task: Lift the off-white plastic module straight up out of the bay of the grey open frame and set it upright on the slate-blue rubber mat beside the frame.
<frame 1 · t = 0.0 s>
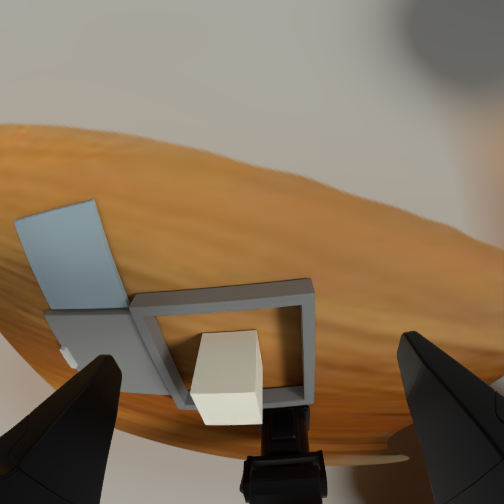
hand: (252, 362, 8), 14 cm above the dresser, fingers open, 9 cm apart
mat: (68, 260, 24), on the dresser
module: (233, 350, 28), resting in grey open frame
grey open frame: (233, 351, 28), on the dresser
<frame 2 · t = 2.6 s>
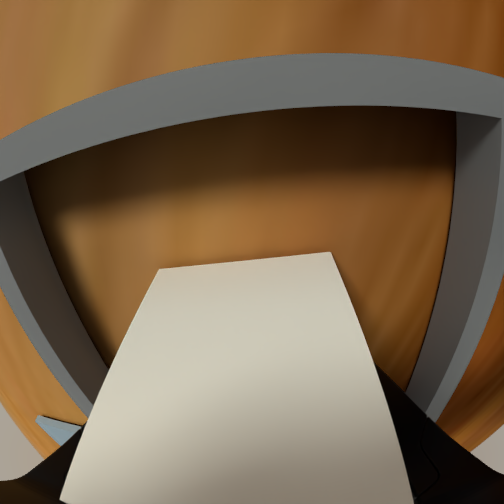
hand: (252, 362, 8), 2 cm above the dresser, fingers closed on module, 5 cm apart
mat: (122, 460, 17), on the dresser
module: (253, 327, 10), resting in grey open frame, touching gripper
grey open frame: (252, 327, 10), on the dresser
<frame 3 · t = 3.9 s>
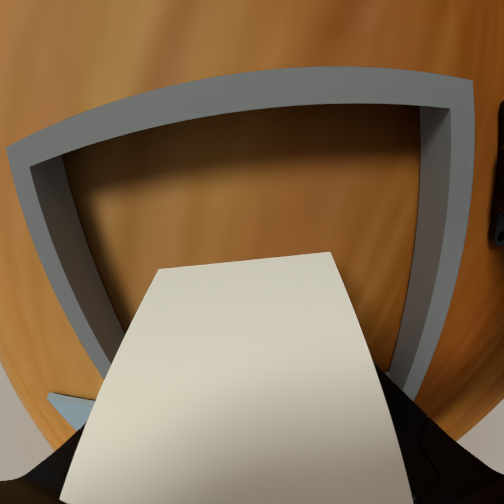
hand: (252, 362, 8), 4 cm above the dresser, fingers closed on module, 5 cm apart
mat: (128, 437, 19), on the dresser
module: (252, 327, 10), point 2 cm above the dresser, touching gripper
grey open frame: (254, 287, 12), on the dresser
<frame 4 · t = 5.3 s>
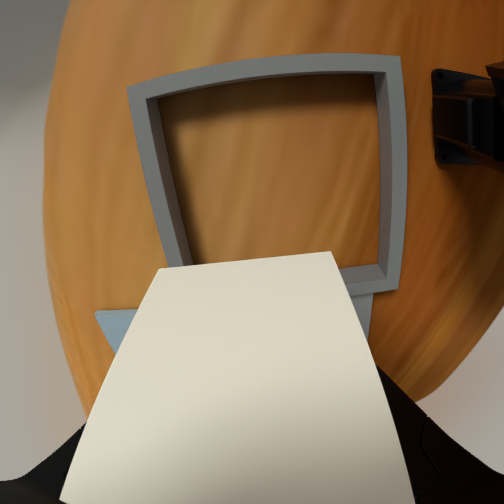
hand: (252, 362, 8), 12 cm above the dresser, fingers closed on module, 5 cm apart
mat: (164, 351, 25), on the dresser
module: (253, 327, 10), point 11 cm above the dresser, touching gripper
grey open frame: (279, 183, 18), on the dresser
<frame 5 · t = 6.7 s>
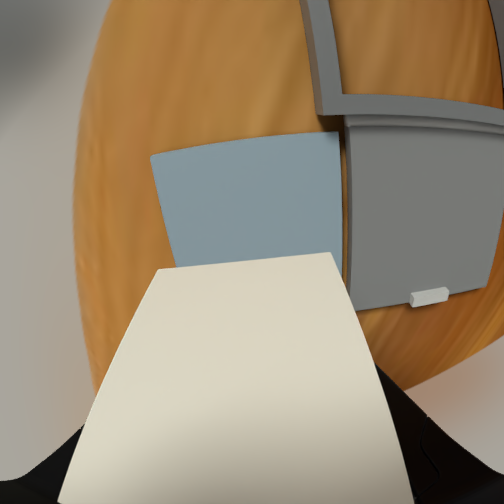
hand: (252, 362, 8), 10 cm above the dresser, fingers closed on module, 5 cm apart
mat: (254, 225, 17), on the dresser
module: (252, 328, 10), point 9 cm above the dresser, touching gripper
grey open frame: (420, 1, 10), on the dresser
when the fingers open (4 cm above the dresser, at t = 8.1 s): module drops 1 cm, resting on mat.
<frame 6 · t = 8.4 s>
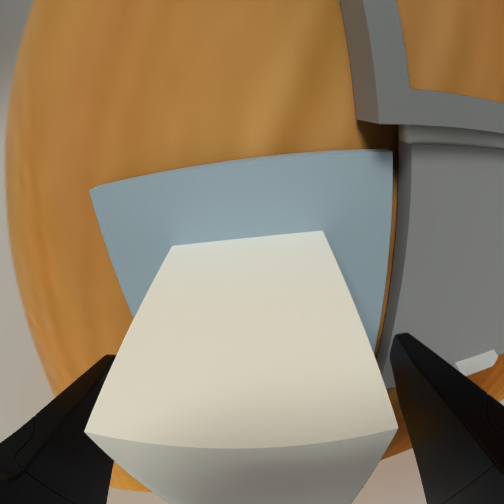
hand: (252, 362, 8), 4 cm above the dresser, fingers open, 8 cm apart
mat: (253, 292, 12), on the dresser
module: (254, 300, 11), point 1 cm above the dresser, touching mat
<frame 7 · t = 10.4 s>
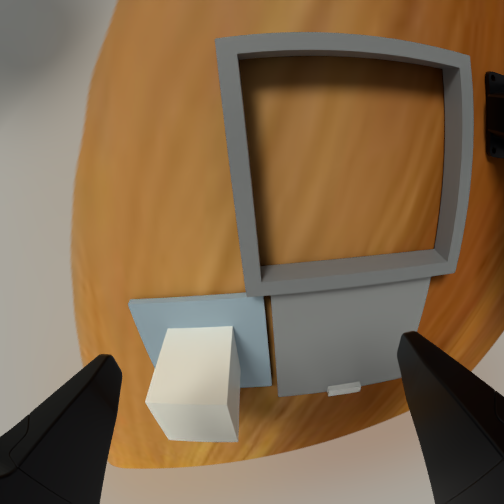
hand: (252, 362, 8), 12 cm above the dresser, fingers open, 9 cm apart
mat: (205, 346, 24), on the dresser
module: (205, 350, 23), point 1 cm above the dresser, touching mat
grey open frame: (358, 161, 17), on the dresser
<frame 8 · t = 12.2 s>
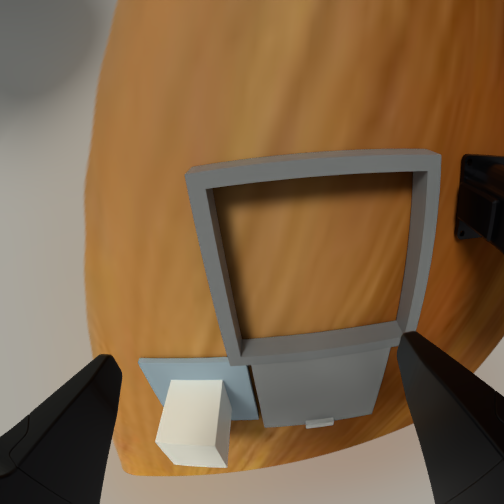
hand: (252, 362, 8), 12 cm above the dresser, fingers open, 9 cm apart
mat: (202, 390, 28), on the dresser
module: (202, 395, 27), point 1 cm above the dresser, touching mat
grey open frame: (322, 262, 20), on the dresser
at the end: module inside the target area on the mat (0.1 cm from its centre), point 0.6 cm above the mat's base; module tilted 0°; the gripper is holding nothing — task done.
